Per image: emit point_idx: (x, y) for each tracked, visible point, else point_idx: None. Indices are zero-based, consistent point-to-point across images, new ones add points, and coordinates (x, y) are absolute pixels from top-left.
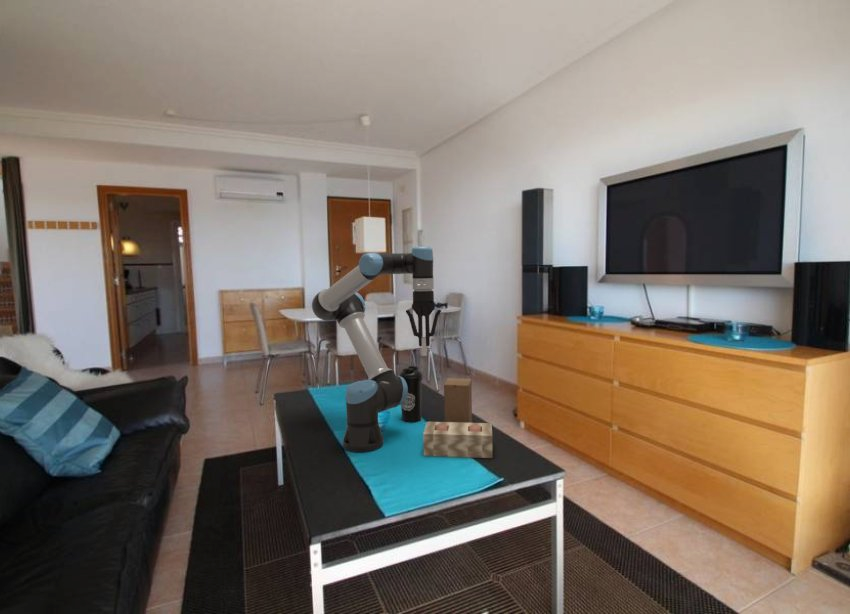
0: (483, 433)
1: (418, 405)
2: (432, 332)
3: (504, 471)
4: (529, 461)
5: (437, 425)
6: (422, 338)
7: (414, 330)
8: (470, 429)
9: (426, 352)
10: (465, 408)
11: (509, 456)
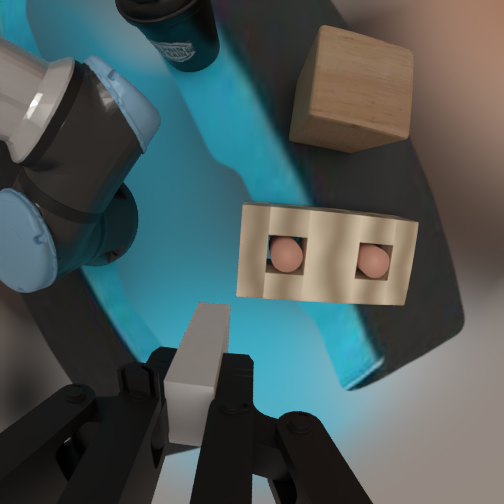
0: (388, 292)
1: (207, 45)
2: (291, 494)
3: (391, 338)
4: (441, 297)
5: (274, 252)
6: (179, 441)
7: (70, 476)
8: (362, 270)
9: (227, 340)
10: (364, 145)
11: (416, 278)
